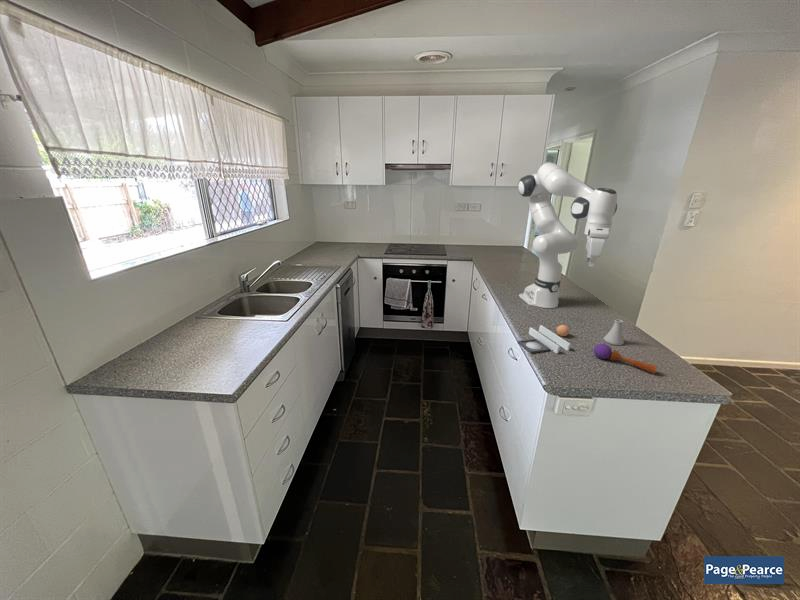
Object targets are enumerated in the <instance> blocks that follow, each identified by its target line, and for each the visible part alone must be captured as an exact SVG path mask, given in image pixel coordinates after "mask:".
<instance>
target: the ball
mask: <svg viewBox="0 0 800 600" xmlns="http://www.w3.org/2000/svg"><path fill="white" fill-rule="evenodd" d="M569 332H570V328H569V327H568V326H567V325H565V324H560V325H558V326H557V327H556V334H557V335H558V336H559V337H566V336H567V335H568V336H569Z"/></svg>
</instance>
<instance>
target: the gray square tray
mask: <svg viewBox="0 0 800 600" xmlns="http://www.w3.org/2000/svg"><path fill="white" fill-rule="evenodd" d="M517 344H518V345H520V346H521V347H522V348H523V349H524V350H526V351H527V352H528V353H530V354H536V353H537V354H538V352H540V353H545V352H544V351H547V352H551V351H552V350H551V349H550V348H549V347H547V346H546V345H545V344H543V343H542V342H540V341H539V340H538V339H535V338H532V339H531V338H530V339H522V340H517Z"/></svg>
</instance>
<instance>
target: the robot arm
mask: <svg viewBox="0 0 800 600" xmlns="http://www.w3.org/2000/svg"><path fill="white" fill-rule="evenodd" d="M517 189H518V193H519V194H520V195H521V196H522V198H523V197H524V198H528V208H529V211H530V215H531V218H532V220H533V222H534V225H535V227H536V229H537V230H538V231H540V232H541V233H542V234H540V235H537V236H536V237H534V239H533V241H532V250H533V251H534V252H535V254H536V255H537V256H538V261H539V266H538V273H537V277H535V278H533V280H534V283H532V284H530V285H527V286H526V287H525V288H524V291H523V293H519V294H518V296H519V297H520V299H522V301H524V302H525V303H526V304H527V305H529V306H534V307H538V308H544V309H555V308H558V306H559V302H560V301H559V296H560V295H559V293H560V289H559V288H560V285H561V275H562V271H563V265H562V264H561V263H560V262H559V258H558V257H559V256H558V255H563V254H568V253H571V252H573V251H575V250H576V249H577V248H578V246H579V237H578V236H577V235H576V234H575V233H573V232H571V231H570V230H569V229H567V227H566V226H565V225H564V224H563V223H562V222H561V220H560V219H559V216H558V214H557V212H556V210H555V208H554V206H553V203H552V201H551V199H550V195H553V196H557V197H569V198H575V199H574V200H573V202H572V203H571V205H570V213H571V217H572V218H574V219H575V220H583V221H584V220H585V221H586V222H585V223H586V224H585V227H584V228H585V229H584V233H583V235H586V244H585V250H586V251H587V252H586V262H588V265H587V266H588V267H591V268H592V267H594V266H595V263H596V260H597V258H600V257H601V255H602V253H603V250H604V247H605V244H606V239H608V238H609V237H610V233H611V228H612V224H613V221H612V220H613V216H615V213H616V212H617V209H618V203H617V202H618V192H617V191H616V190H614V189H613V188H607V187H598V188H593V187H592V186H590V185H588V184H587V183H585V182H583V181H582V180H580V179H579V178H577V177H575V176H574V175H572V174H571V173H569V172H568V171H567V170H566V169H564V167H561V166H560V165H558V164H557V163H555V162H554V163H553V162H550V161H549V162H545V163H543V164H542V165H541V166H540V167H539V168H538V170H537V172H534V173H532V174H528V175H524V176H523V177H521V178H520V179H519V181H518V184H517Z"/></svg>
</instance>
